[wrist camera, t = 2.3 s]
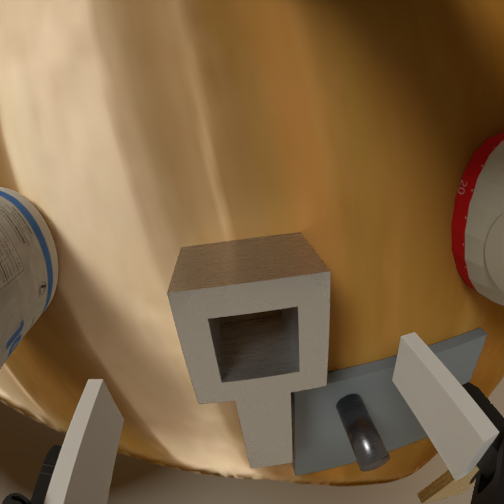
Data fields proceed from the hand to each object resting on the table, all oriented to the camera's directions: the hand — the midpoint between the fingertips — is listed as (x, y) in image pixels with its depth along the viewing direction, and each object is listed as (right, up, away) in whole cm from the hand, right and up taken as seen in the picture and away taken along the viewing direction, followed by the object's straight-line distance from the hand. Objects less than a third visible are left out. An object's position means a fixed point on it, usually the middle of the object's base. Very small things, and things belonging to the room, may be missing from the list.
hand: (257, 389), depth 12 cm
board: (+13, -9, +13) cm, 21 cm away
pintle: (+8, -7, +10) cm, 14 cm away
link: (0, 0, +9) cm, 9 cm away
